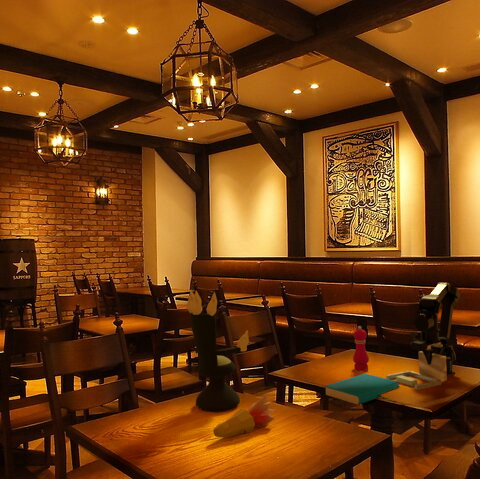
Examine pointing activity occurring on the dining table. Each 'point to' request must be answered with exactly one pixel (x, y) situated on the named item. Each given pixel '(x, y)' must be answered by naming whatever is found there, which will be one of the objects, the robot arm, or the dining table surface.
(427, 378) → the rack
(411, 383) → the offcut top
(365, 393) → the book
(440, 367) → the sheet
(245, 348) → the candelabra
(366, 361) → the pepper mill
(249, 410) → the torch
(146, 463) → the dining table surface
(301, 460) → the dining table surface
